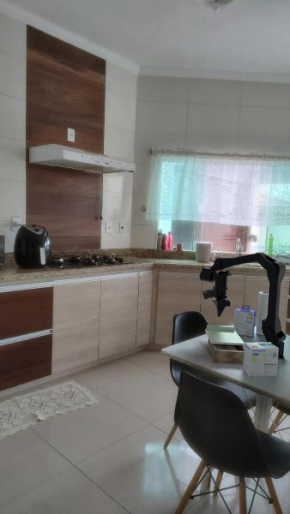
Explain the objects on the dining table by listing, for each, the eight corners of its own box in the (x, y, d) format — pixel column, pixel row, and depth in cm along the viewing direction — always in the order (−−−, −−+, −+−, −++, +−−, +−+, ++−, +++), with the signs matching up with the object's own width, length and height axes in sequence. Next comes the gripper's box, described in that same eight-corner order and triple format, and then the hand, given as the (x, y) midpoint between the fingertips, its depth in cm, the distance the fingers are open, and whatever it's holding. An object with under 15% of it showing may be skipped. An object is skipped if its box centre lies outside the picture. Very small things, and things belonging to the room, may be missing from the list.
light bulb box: (268, 368, 132) (270, 341, 131) (277, 376, 125) (279, 348, 124) (241, 369, 130) (243, 341, 129) (249, 377, 124) (251, 348, 122)
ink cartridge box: (254, 334, 173) (256, 306, 171) (252, 337, 168) (255, 308, 166) (234, 330, 177) (236, 303, 175) (232, 333, 172) (234, 305, 170)
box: (237, 349, 151) (238, 338, 150) (247, 364, 135) (248, 352, 134) (207, 347, 151) (208, 336, 150) (214, 362, 135) (215, 350, 134)
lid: (234, 332, 157) (235, 326, 157) (244, 345, 141) (245, 338, 140) (205, 330, 157) (205, 324, 157) (211, 343, 141) (211, 337, 141)
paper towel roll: (253, 332, 175) (256, 291, 173) (262, 331, 178) (265, 291, 175) (263, 337, 169) (267, 294, 166) (272, 336, 171) (276, 293, 169)
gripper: (200, 280, 170) (198, 310, 172) (206, 287, 152) (204, 321, 153) (223, 281, 170) (221, 311, 172) (231, 288, 151) (229, 322, 153)
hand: (218, 316), depth 162 cm, fingers closed
